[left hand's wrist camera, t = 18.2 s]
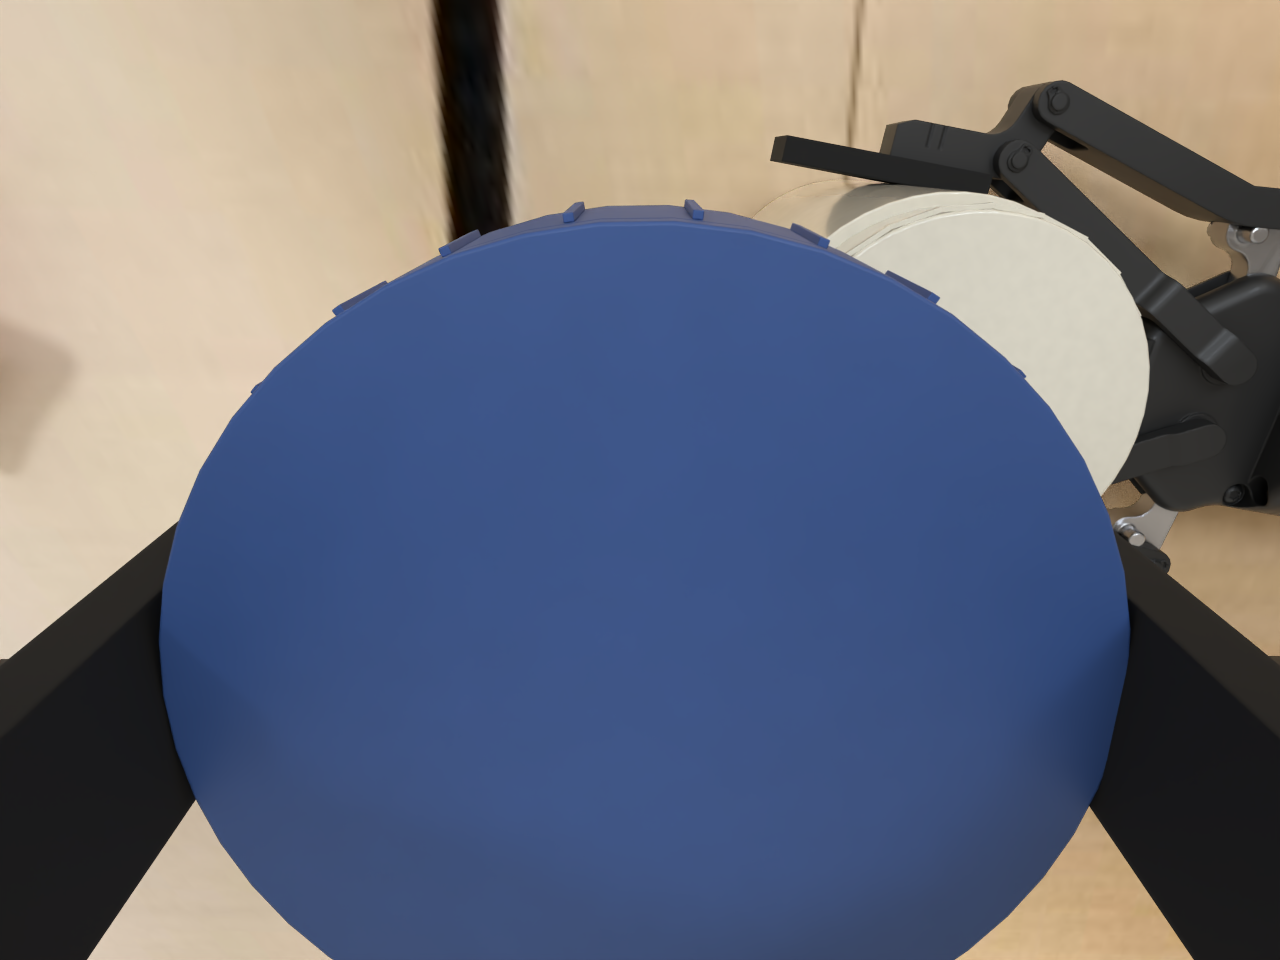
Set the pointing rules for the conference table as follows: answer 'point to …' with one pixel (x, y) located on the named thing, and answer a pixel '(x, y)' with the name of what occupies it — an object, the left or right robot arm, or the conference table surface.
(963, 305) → the jar
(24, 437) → the conference table surface
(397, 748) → the lid
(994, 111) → the conference table surface
